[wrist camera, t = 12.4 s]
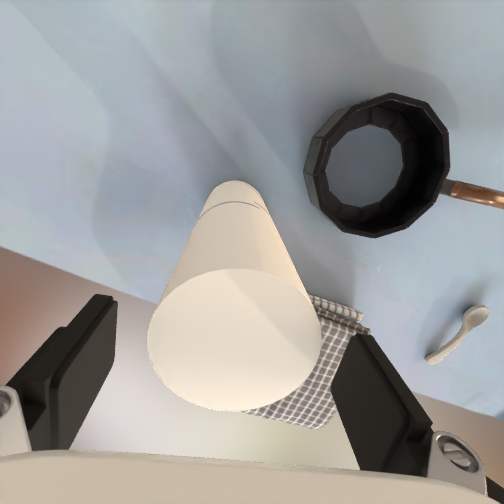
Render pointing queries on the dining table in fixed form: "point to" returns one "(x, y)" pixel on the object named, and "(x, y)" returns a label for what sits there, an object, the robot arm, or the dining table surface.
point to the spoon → (460, 332)
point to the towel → (318, 369)
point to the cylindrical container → (234, 310)
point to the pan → (412, 175)
